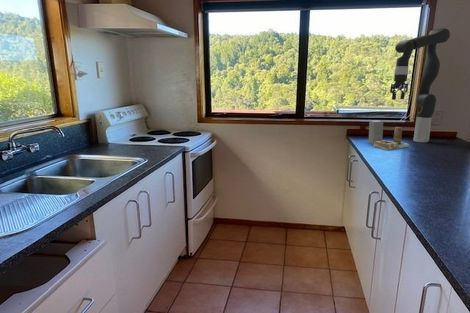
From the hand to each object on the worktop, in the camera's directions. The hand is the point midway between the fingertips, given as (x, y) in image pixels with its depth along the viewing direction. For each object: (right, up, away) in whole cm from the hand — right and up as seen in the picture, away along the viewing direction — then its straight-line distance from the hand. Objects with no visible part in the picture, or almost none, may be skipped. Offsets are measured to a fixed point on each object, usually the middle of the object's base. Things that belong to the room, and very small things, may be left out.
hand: (397, 99), depth 212 cm
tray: (-1, -31, 0) cm, 31 cm away
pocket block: (-10, -32, -5) cm, 34 cm away
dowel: (-1, -30, 0) cm, 30 cm away
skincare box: (-11, -29, +9) cm, 32 cm away
